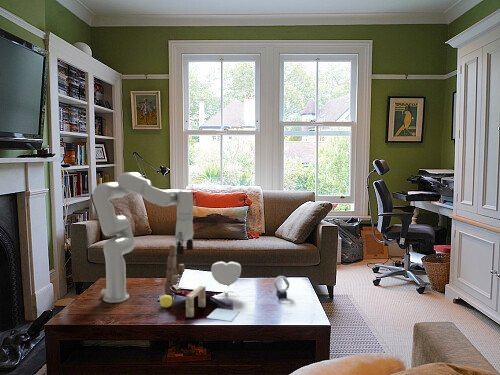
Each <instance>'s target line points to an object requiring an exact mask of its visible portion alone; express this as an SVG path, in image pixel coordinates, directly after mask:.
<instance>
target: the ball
mask: <svg viewBox="0 0 500 375" xmlns="http://www.w3.org/2000/svg"><path fill="white" fill-rule="evenodd" d="M159 304H160V306H161V307H163V308H169V307H170V306H172V304H173V298H172V296H171V295H167V294H164V295H162V296H161V297H160V299H159Z"/></svg>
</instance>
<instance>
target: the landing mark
mask: <svg viewBox="0 0 500 375" xmlns="http://www.w3.org/2000/svg"><path fill="white" fill-rule="evenodd" d="M240 312H241V311H240V310H232V309H226V308H218V307H217V308H215V309H214V310H213V311H212V312H211V313H210V314H209V315H207V316H206V319H211V320H217V321H225V322H232V321H233V320H234V319H235V318H236V317H237V316H238V314H239V313H240Z"/></svg>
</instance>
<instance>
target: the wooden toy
mask: <svg viewBox="0 0 500 375" xmlns="http://www.w3.org/2000/svg"><path fill="white" fill-rule="evenodd" d="M177 255H178V254H177V247H175V245H174V244H170V245H169V255H168V257H167V260H166V262H167V263H166V264H167V266H166V267H167V268H166V274H165V276H166V281H165V282H164V295H167V294H173V293H172V292H171V291H170V287H171V285H176V284H177V281H178V282H179V275H182V274H183V272H184V271H185V264H184V263H180V264H179V263H178V267H177ZM177 268H178V269H177Z"/></svg>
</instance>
